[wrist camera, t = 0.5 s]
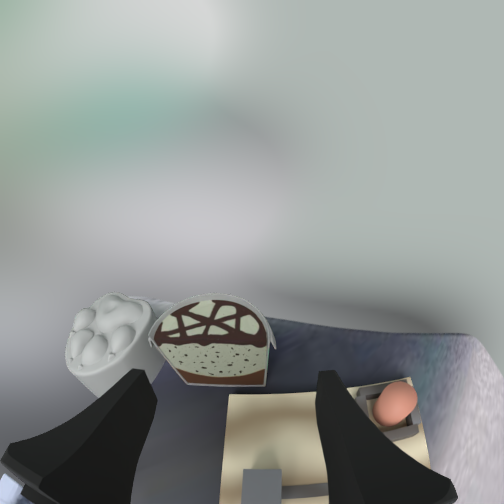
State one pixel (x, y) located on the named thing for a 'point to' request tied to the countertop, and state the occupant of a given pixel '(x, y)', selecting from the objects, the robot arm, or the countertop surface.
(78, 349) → the lumpy-topped squat cylinder
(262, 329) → the food container
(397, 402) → the push button
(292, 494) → the control board
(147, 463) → the countertop surface
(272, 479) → the slider knob
